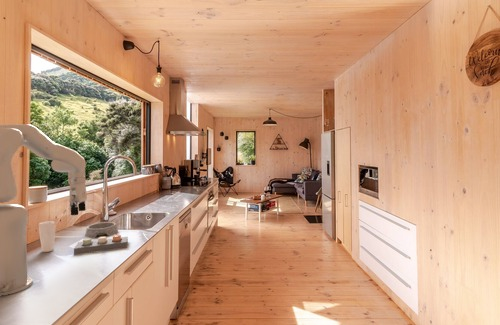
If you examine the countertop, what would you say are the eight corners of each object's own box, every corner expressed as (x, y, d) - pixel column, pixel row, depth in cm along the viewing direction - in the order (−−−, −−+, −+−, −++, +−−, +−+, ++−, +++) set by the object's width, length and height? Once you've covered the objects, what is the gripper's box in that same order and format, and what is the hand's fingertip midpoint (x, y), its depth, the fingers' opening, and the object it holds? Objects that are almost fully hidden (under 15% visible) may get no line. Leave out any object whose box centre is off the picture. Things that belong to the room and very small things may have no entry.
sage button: (91, 245, 138) (90, 240, 138) (82, 247, 136) (81, 241, 136) (92, 243, 142) (92, 237, 142) (83, 244, 140) (83, 238, 140)
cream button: (106, 243, 141) (106, 238, 140) (97, 245, 139) (97, 239, 139) (107, 241, 144) (106, 236, 144) (98, 242, 143) (98, 237, 143)
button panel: (126, 247, 142) (126, 241, 142) (74, 254, 133) (73, 248, 132) (127, 241, 151) (127, 236, 151) (78, 248, 142) (78, 242, 142)
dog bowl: (118, 234, 166) (118, 226, 166) (84, 239, 157) (83, 230, 157) (117, 228, 181) (117, 220, 181) (85, 232, 172) (85, 224, 172)
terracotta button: (120, 242, 143) (120, 236, 143) (112, 243, 142) (112, 237, 142) (121, 239, 147) (121, 234, 147) (113, 240, 145) (113, 235, 145)
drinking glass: (47, 253, 134) (46, 224, 134) (36, 252, 136) (35, 223, 135) (59, 248, 141) (58, 221, 141) (48, 248, 142) (47, 220, 142)
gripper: (78, 182, 131) (80, 216, 132) (90, 178, 148) (92, 208, 149) (61, 182, 129) (62, 217, 130) (75, 179, 146) (77, 209, 147)
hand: (78, 212), depth 139 cm, fingers open, 9 cm apart
